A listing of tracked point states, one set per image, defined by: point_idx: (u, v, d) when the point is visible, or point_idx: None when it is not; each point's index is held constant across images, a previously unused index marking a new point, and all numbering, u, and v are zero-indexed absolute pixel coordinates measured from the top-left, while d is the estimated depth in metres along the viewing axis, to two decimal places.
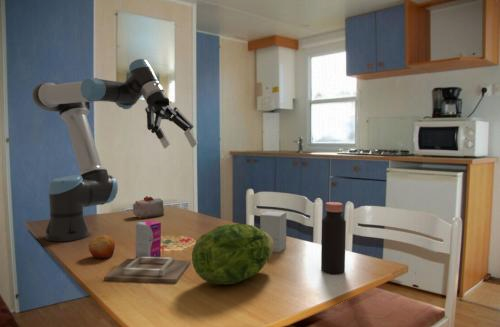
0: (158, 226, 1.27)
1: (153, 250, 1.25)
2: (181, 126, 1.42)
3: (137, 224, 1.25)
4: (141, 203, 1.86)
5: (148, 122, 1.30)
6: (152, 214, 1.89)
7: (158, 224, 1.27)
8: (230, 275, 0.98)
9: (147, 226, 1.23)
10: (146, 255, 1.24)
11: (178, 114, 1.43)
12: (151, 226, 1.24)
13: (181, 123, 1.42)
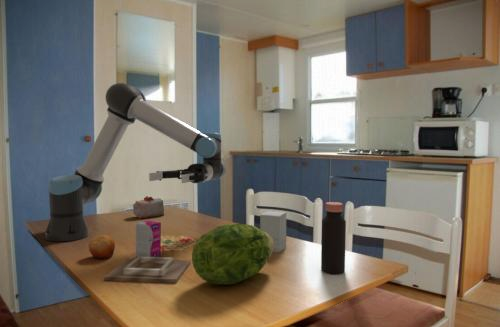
0: (158, 226, 1.27)
1: (153, 250, 1.25)
2: (167, 173, 1.45)
3: (137, 224, 1.25)
4: (141, 203, 1.86)
5: (204, 175, 1.39)
6: (152, 214, 1.89)
7: (158, 224, 1.27)
8: (230, 275, 0.98)
9: (147, 226, 1.23)
10: (146, 255, 1.24)
11: None
12: (151, 226, 1.24)
13: (169, 176, 1.45)
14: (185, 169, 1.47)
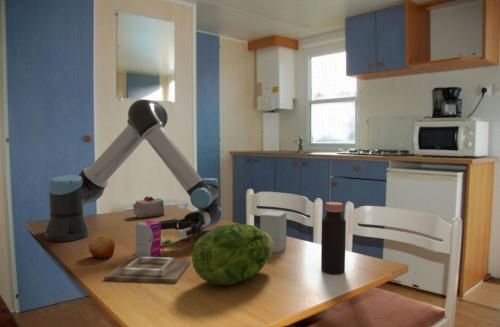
0: (158, 226, 1.27)
1: (153, 250, 1.25)
2: (164, 225, 1.43)
3: (137, 224, 1.25)
4: (141, 203, 1.86)
5: (201, 228, 1.38)
6: (152, 214, 1.89)
7: (158, 224, 1.27)
8: (230, 275, 0.98)
9: (147, 226, 1.23)
10: (146, 255, 1.24)
11: None
12: (151, 226, 1.24)
13: (166, 227, 1.44)
14: (182, 219, 1.46)
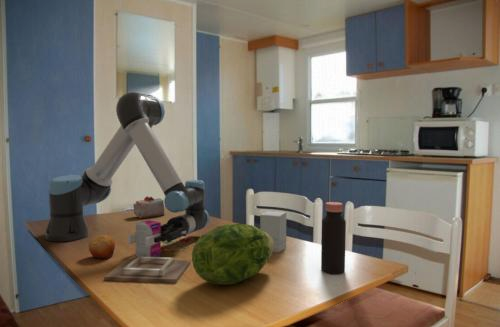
0: (158, 226, 1.27)
1: (153, 250, 1.25)
2: None
3: (137, 224, 1.25)
4: (142, 203, 1.86)
5: (173, 235, 1.28)
6: (152, 214, 1.89)
7: (158, 224, 1.27)
8: (230, 275, 0.98)
9: (147, 226, 1.23)
10: (146, 255, 1.24)
11: None
12: (151, 226, 1.24)
13: None
14: (165, 224, 1.37)
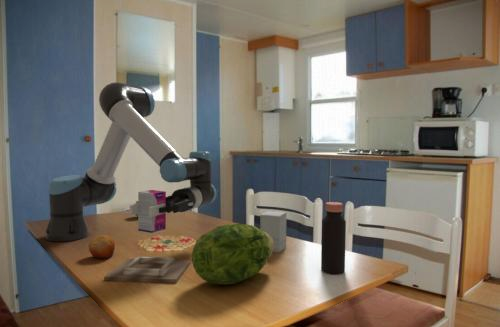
0: (163, 195, 1.15)
1: (158, 222, 1.13)
2: None
3: (140, 193, 1.13)
4: None
5: (180, 205, 1.16)
6: None
7: (163, 193, 1.15)
8: (230, 275, 0.98)
9: (151, 194, 1.11)
10: (150, 227, 1.12)
11: None
12: (155, 194, 1.12)
13: None
14: (170, 196, 1.25)
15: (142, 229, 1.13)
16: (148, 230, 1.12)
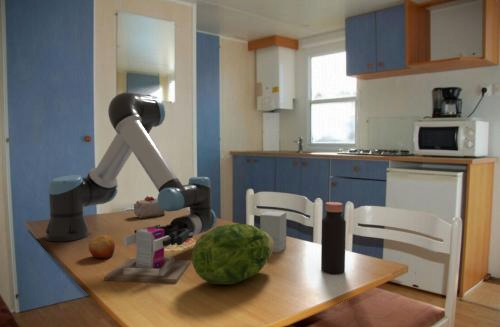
0: (161, 233, 1.13)
1: (156, 260, 1.12)
2: None
3: (138, 231, 1.12)
4: (142, 203, 1.86)
5: (183, 237, 1.15)
6: (153, 214, 1.89)
7: (161, 231, 1.13)
8: (230, 275, 0.98)
9: (149, 233, 1.10)
10: (148, 266, 1.10)
11: None
12: (154, 233, 1.11)
13: None
14: (168, 226, 1.23)
15: None
16: None
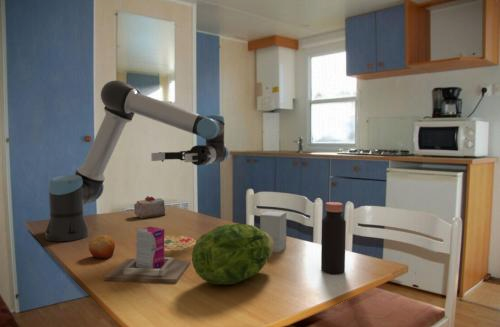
0: (161, 233, 1.13)
1: (156, 260, 1.12)
2: (170, 154, 1.42)
3: (138, 231, 1.12)
4: (142, 203, 1.86)
5: (207, 155, 1.37)
6: (153, 214, 1.89)
7: (161, 231, 1.13)
8: (230, 275, 0.98)
9: (149, 233, 1.10)
10: (148, 266, 1.10)
11: None
12: (154, 233, 1.11)
13: (172, 157, 1.42)
14: (188, 150, 1.45)
15: None
16: None
